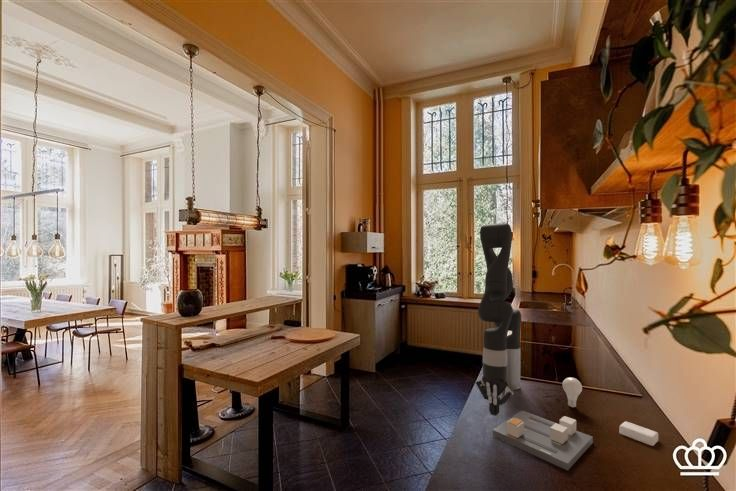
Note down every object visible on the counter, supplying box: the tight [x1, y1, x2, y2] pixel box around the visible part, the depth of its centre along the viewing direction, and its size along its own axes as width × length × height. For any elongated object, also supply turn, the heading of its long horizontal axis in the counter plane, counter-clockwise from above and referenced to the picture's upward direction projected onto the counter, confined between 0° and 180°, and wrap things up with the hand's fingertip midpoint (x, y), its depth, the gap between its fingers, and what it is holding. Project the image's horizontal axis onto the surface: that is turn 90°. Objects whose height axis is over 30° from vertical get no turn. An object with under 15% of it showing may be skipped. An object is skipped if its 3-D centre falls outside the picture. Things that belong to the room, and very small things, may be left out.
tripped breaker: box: [507, 418, 524, 438], centre depth 107 cm, size 4×4×4 cm
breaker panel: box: [492, 410, 594, 471], centre depth 108 cm, size 22×20×6 cm
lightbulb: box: [562, 376, 583, 408], centre depth 130 cm, size 6×6×11 cm
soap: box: [618, 420, 659, 447], centre depth 110 cm, size 9×6×3 cm, turn 36°
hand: (494, 414), depth 113 cm, fingers closed
